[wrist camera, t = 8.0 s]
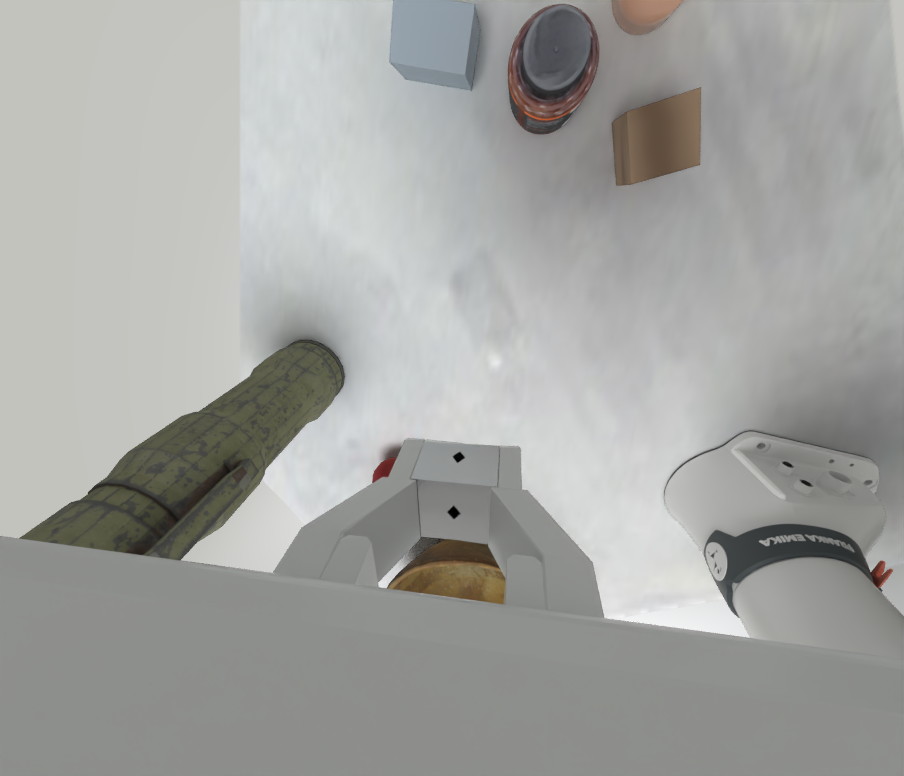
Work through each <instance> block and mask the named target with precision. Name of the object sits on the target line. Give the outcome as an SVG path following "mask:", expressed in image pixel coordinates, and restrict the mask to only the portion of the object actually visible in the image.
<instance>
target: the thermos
mask: <svg viewBox="0 0 904 776" xmlns="http://www.w3.org/2000/svg"><path fill="white" fill-rule="evenodd" d="M344 377H345V376H344V371H343V366H342V365H341V363H340V361H339V359H338V357H337V356H336V355H335V354H334V353H333V352H332V351H331V350H330V349H329V348H327V347H326V346H324V345H322V344H321V343H318V342H314V341H311V340H300V341H297V342H294V343H292V344H290V345H289V346H288V347H287V348H284V349H281V350H279V351H277V352H276V353H274V354H273V355H271V356H270V357H268V358H267V359H265V360H264V361H263V362H262V363H261V364H259V365H258V366H257V367H256V368H254V369H253V371H252V373H251V375H250V377H248V378H247V379H245V380H244V381H242V382H241V383H239V384H238V385H237V386H235V387H234V388H232V389H231V390H229V391H228V392H226V393H225V394H223V395H222V396H221V397H219V398H218V399H216V400H215V401H213V402H212V403H210V404H209V405H208V406H206V407H205V408H203V409H202V410H200V411H199V412H193V413H190V414H187V415H184V416H181V417H180V418H178V419H177V420H175V421H174V422H172V423H171V424H169V425H168V426H166V427H165V428H163V429H162V430H160V431H159V432H157V433H156V434H154V435H153V436H151V437H150V438H148V439H147V440H145V441H144V442H142V443H141V444H139V445H138V446H136V447H135V448H133V449H132V450H130V451H129V452H128V453H127V454H126V455H125V456H124V457H123V458H122V459H121V460H120V461H119V462H118V463H117V465H116V466H115V467H114V469H113V470H112V471H111V473H110V474H109V475H108V476H107V478H105V479H104V480H102V481H101V482H99V483H98V484H96V485H95V486H94V487H93V488H92V489H91V490H90V491H89V492H88V495H86V496H85V497H83V498H82V499H81V500H78V501H75V502H71V503H69V504H68V505H67V506H65V507H64V508H62V509H61V510H59V511H58V512H56V513H55V514H54V515H52V516H51V517H49V518H48V519H47V520H45V521H43V522H42V523H40V524H39V525H38V526H36V527H35V528H33V529H32V530H30V531H29V532H28V533H26V534H25V535H24V536H22V537H20V538H19V539H26V540H33V541H41V542H48V543H56V544H63V545H70V546H78V547H85V548H92V549H100V550H107V551H114V552H122V553H129V554H137V555H144V556H151V557H159V558H166V559H173V560H181V559H182V558H183V557H184V556H185V555H186V554H187V553H188V552H189V551H190V549H191V548H192V547H193V546H194V545H195V544H196V543H197V542H198V541H200V540H202V539H203V538H205V537H206V536H208V535H210V534H211V533H213V532H214V531H216V530H217V529H219V528H220V527H222V526H223V525H224V524H225V522H226V521H227V520H228V519H229V518H230V517H231V516H232V514H233V513H234V512H235V511H236V510H237V509H238V507H240V505H241V504H242V503H243V502H244V501H245V500H246V498H247V497H248V496H249V495H250V494H251V493H252V492H253V490H254V489H255V488H256V487H257V486H258V485H259V484H260V482H261V480H262V478H263V476H264V474H265V470H266V468H267V467H268V466H269V465H270V464H271V463H272V462H273V460H274V459H275V458H276V457H277V456H278V455H279V454H280V453H281V452H282V451H283V449H284V448H285V447H286V446H287V445H288V444H289V443H290V442H291V441H292V439H293V438H294V437H295V436H296V435H297V434H298V433H299V432H300V431H301V430H302V428H303V427H304V426H305V425H306V424H307V423H309V422H311V421H314V420H316V419H318V418H319V417H320V415H321V414H322V413H323V412H324V411H325V410H326V409H327V407H328V406H329V405H330V404H331V403H332V401H333V400H334V398H335V396H336V395H337V394H338V393H339V392H340V390H341V388H342V387H343V384H344Z"/></svg>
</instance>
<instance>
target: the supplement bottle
mask: <svg viewBox="0 0 904 776" xmlns="http://www.w3.org/2000/svg"><path fill="white" fill-rule="evenodd" d="M598 59H599V43H598V38H597V34H596V30H595V28H594V25H593V23H592V22H591V20H590V19H589V17H588V16H587V15H586V14H585V13H584V12H582V10H580V9H578V8H576V7H574V6H571V5H566V4H557V5H552V6H548V7H545V8H543V9H542V10H540V11H538V12H537V13H535V14H534V15H533V16H532V17H531V18H529V20H528V21H527V22H526V23H525V24H524V25H523V27H522V28H521V30H520V31H519V33H518V35H517V36H516V38H515V41H514V43H513V46H512V49H511V53H510V57H509V64H508V84H509V94H510V104H511V109H512V112H513V114H514V116H515V118H516V120H517V122H518V123H519V124H520V125H521V126H522V127H523V128H524V129H525V130H527V131H528V132H531V133H534V134H548V133H551V132H554V131H556V130H558V129H559V128H560V127H562V126H563V125H564V124H565V123H566V122H567V121H568V120H569V119H570V118H571V117H572V115H573V114H574V112H575V111H576V109H577V108H578V106H579V105H580V103H581V102H582V100H583V98H584V97H585V95H586V94H587V92H588V90H589V89H590V87H591V84H592V82H593V80H594V77H595V74H596V71H597V66H598Z"/></svg>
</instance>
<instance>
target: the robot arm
mask: <svg viewBox="0 0 904 776" xmlns="http://www.w3.org/2000/svg"><path fill="white" fill-rule="evenodd" d="M760 443H761V444H760ZM758 444H760V445H758ZM499 453H500V454H499ZM498 471H499V472H498ZM878 484H879V470H878V466H877V465H876V464H875V463H874V462H873V461H872V460H871V459H868V458H865V457H861V456H857V455H852V454H848V453H844V452H839V451H835V450H831V449H827V448H822V447H818V446H814V445H809V444H805V443H801V442H796V441H792V440H788V439H783V438H779V437H775V436H770V435H766V434H762V433H757V432H752V431H750V432H745V433H742V434H740V435H738V436H737V437H735V438H734V439H733V440H731V441H730V442H728V443H727V444H726V445H724V446H723V447H721V448H718V449H716V450H713V451H710V452H707V453H705V454H702V455H700V456H698V457H696V458H694V459H692V460H690V461H689V462H687V463H686V464H684V465H683V466H682V467H681V468H680V469H679V470H677V471H676V473H675V474H674V475H673V476H672V477H671V479H670V481H669V482H668V484H667V487H666V490H665V495H664V500H665V505H666V508H667V510H668V512H669V514H670V515H671V516H672V517H673V518H674V519H675V520H676V521H677V522H678V523H679V524H680V525H681V526H682V527H683V529H684V530H685V531H686V532H687V533H688V535H689V536H690V537H691V538H692V540H693V541H694V542H695V544H696V545H697V546H698V548H699V549H700V551H701V552H702V554H703V555H704V557H705V560H706V562H707V565H708V567H709V570H710V572H711V574H712V576H713V579H714V580H715V582H716V584H717V586H718V588H719V590H720V592H721V593H722V595H723V597H724V599H725V600H726V602H727V604H728V606H729V607H730V609H731V611H732V612H733V613H734V614H735V615H736V616H737V617H738V618H740V619H741V621H742V623H743V625H744V627H745V629H746V631H747V633H748V635H749V636H750V638H746V637H739V636H732V635H725V634H716V633H710V632H702V631H695V630H688V629H680V628H672V627H666V626H658V625H651V624H644V623H636V622H629V621H621V620H614V619H607V618H604V614H603V609H602V605H601V600H600V595H599V591H598V586H597V581H596V576H595V572H594V567H593V562H592V561H591V560H590V559H589V558H588V557H587V556H586V555H585V553H584V552H583V551H582V550H581V549H580V548H579V547H578V546H577V545H576V543H575V542H574V541H573V540H572V539H571V538H570V537H569V536H568V535H567V533H566V532H565V531H564V530H563V529H562V528H561V527H560V526H559V525H558V523H557V522H556V521H555V520H554V519H553V518H552V517H551V516H550V515H549V513H548V512H547V511H546V510H545V509H544V508H543V507H542V506H541V505H540V503H539V502H538V501H537V500H536V499H535V498H534V497H533V496H532V495H531V493H530V492H529V491H528V490H522V479H521V448H520V447H519V446H501V445H500V446H492V445H478V444H464V443H457V442H447V441H437V440H427V439H426V440H425V439H415V438H407V439H406V440H405V441H404V443H403V445H402V447H401V450H400V452H399V454H398V456H397V459H396V461H395V463H394V465H393V468H392V470H391V472H390V474H389V476H388V477H382V478H380V479H378V480H377V481H375V482H374V483H372V484H371V485H369V486H367V487H366V488H364V489H363V490H361V491H359V492H358V493H356V494H355V495H353V496H351V497H350V498H348V499H347V500H345V501H343V502H342V503H340V504H339V505H337V506H335V507H334V508H332V509H331V510H329V511H327V512H326V513H324V514H323V515H321V516H319V517H318V518H316V519H315V520H313V521H312V522H310V523H308V524H307V525H305V526H304V527H302V528H301V530H300V531H299V533H298V534H297V536H296V537H295V539H294V540H293V542H292V544H291V545H290V547H289V549H288V550H287V551H286V553H285V555H284V556H283V558H282V559H281V561H280V562H279V564H278V565H277V567H276V569H275V570H274V572H273V573H269V572H261V571H254V570H247V569H239V568H232V567H225V566H217V565H210V564H203V563H195V562H188V561H181V560H173V559H166V558H159V557H151V556H144V555H137V554H129V553H122V552H114V551H107V550H100V549H92V548H85V547H78V546H70V545H63V544H56V543H48V542H41V541H33V540H26V539H19V538H11V537H4V536H0V776H904V616H903V615H902V614H901V613H900V612H899V611H898V609H897V608H896V607H894V605H893V604H892V603H891V602H890V601H889V600H888V599H887V598H886V597H885V596H884V595H883V593H882V590H881V588H880V587H881V586H882V585H883V583H884V582H885V581H886V580H887V579H888V577H889V576H890V574H891V573H892V572H893V570H892V569H889V570H887V571H886V572H885V573H884V574H883V575H882V573H883V572H884V568H885V562H884V561H880V562H879V563H878V564H877V565H876V567H875V568H874V569H873V570H872V572H870V570H869V567H868V564H867V562H866V560H865V557H866V555H867V554H868V553H869V551H870V550H871V549H872V547H873V546H874V544H875V543H876V542H877V540H878V539H879V537H880V535H881V533H882V531H883V529H884V526H885V522H886V513H885V509H884V506H883V504H882V503H881V501H880V500H879V499H878V498H877V496H876V495H875V493H876V491H877V488H878ZM420 537H430V538H441V539H453V540H460V541H467V542H474V543H481V544H488V547H489V548H490V550H491V552H492V554H493V556H494V558H495V560H496V562H497V564H498V565H499V567H500V569H501V571H502V573H503V575H504V577H505V591H504V602H503V604H497V603H490V602H482V601H475V600H468V599H460V598H453V597H446V596H438V595H431V594H424V593H416V592H409V591H401V590H394V589H387V588H379V587H378V582H379V581H380V580H381V579H382V578H383V577H384V576H385V575H386V574H387V573H388V572H389V571H390V570H391V569H392V568H393V567H394V566H395V565H396V563H397V562H398V561H399V560H400V559H401V558H402V557H403V556H404V555H405V554H406V553H407V552H408V551H409V550H410V549H411V548H412V547H413V546H414V545H415V544H416V543H417V542H418V541H419V540H420Z"/></svg>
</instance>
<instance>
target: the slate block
mask: <svg viewBox="0 0 904 776" xmlns="http://www.w3.org/2000/svg"><path fill="white" fill-rule="evenodd" d="M479 37H480V26H479V22H478V17H477V12H476V7H475V4H471V3H465V2H459V1H452V0H393V11H392V28H391V44H390V60H389V62H390V63H391V64H392V65H393V67H394V68H395V69H396V70H397V71H398V72H399V73H400V74H401V75H402V76H403V77H404V78H405V79H406V80H412V81H418V82H424V83H430V84H435V85H441V86H447V87H453V88H459V89H464V90H470V91H471V90H472V84H473V77H474V70H475V63H476V57H477V50H478V43H479Z"/></svg>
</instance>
